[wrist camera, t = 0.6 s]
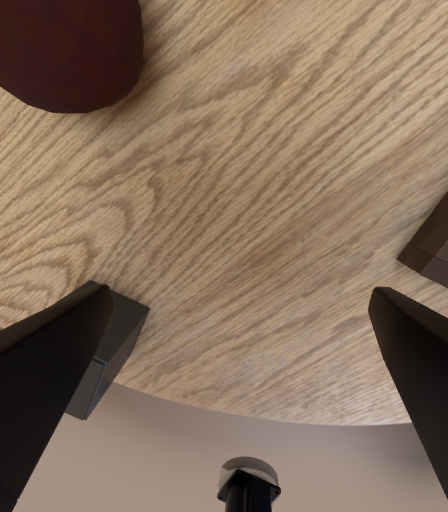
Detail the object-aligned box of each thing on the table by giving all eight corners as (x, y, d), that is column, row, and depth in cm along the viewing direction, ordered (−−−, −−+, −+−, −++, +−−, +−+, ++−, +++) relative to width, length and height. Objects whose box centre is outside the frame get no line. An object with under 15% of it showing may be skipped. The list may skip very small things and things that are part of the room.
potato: (127, 157, 23) (31, 146, 13) (-4, 54, 21) (-223, -43, 12) (199, 30, 19) (141, -115, 9) (47, -103, 18) (-205, -433, 8)
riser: (130, 355, 30) (84, 423, 22) (74, 329, 30) (7, 388, 21) (150, 308, 27) (106, 364, 19) (89, 279, 27) (20, 325, 19)
